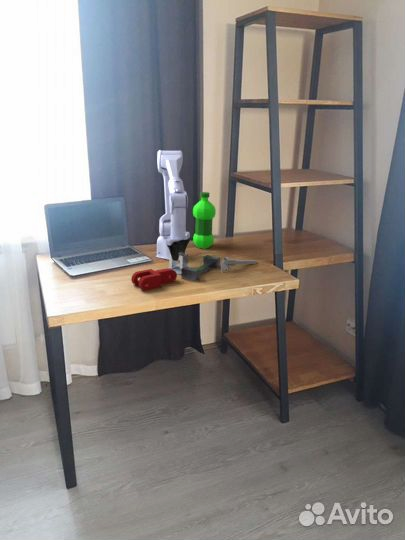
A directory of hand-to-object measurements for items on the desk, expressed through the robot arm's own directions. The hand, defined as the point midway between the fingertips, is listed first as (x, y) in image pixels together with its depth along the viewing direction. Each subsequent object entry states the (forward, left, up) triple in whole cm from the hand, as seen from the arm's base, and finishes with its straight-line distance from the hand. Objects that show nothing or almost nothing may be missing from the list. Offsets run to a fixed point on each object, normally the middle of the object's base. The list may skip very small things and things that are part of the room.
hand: (177, 258), depth 176 cm
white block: (0, 0, -3) cm, 3 cm away
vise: (+10, +2, -4) cm, 11 cm away
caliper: (+20, +16, -5) cm, 26 cm away
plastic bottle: (-6, +33, -5) cm, 34 cm away
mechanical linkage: (+2, -18, -5) cm, 19 cm away
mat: (0, 0, -4) cm, 4 cm away
